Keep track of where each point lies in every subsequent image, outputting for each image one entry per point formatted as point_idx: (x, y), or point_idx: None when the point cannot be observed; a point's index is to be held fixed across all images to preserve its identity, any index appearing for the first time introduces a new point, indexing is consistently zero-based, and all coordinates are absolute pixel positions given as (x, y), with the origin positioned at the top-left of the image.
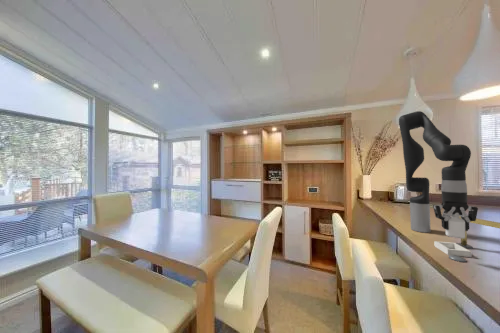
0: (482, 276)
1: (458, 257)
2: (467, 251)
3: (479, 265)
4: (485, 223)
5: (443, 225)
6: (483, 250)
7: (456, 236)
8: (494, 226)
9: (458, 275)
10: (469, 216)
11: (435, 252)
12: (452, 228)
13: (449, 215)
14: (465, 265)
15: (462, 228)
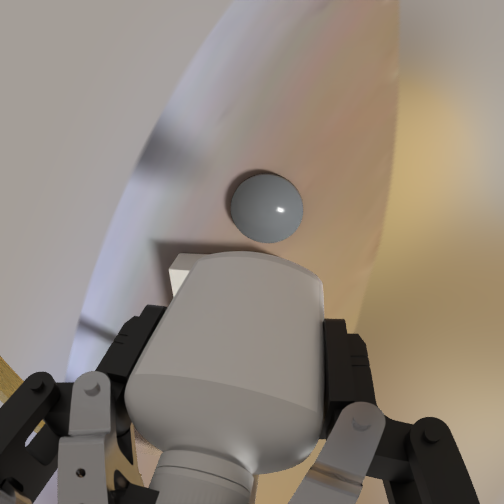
0: (273, 15)
1: (255, 217)
2: (185, 268)
3: (199, 153)
4: None
5: (366, 359)
6: (105, 331)
7: (266, 259)
8: (8, 372)
9: (386, 4)
10: (57, 441)
11: (326, 277)
12: (290, 319)
13: (326, 486)
14: (274, 130)
15: (191, 312)
